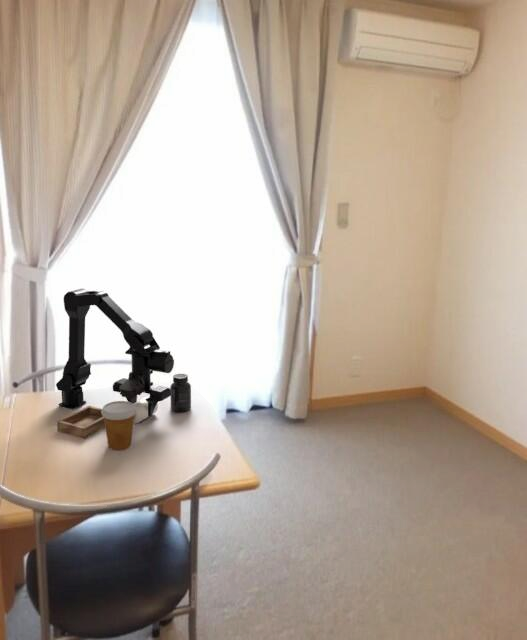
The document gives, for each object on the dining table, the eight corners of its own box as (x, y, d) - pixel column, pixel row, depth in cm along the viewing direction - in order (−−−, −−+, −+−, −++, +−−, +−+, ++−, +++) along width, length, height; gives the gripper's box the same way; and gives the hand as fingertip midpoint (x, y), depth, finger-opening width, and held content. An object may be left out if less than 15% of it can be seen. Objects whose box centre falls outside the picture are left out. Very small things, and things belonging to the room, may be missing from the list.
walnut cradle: (57, 431, 168) (56, 421, 168) (89, 414, 181) (89, 405, 180) (84, 438, 164) (84, 428, 164) (115, 421, 177) (115, 411, 176)
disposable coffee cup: (142, 441, 164) (142, 403, 161) (124, 455, 155) (123, 415, 152) (115, 435, 167) (113, 398, 164) (95, 449, 158) (94, 410, 155)
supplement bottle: (193, 406, 191) (193, 373, 188) (188, 414, 184) (188, 380, 181) (173, 404, 191) (173, 371, 188) (168, 412, 185) (167, 378, 182)
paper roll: (140, 425, 174) (140, 407, 173) (125, 421, 177) (124, 404, 175) (158, 414, 183) (158, 397, 181) (143, 411, 185) (143, 394, 184)
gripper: (100, 370, 172) (102, 417, 176) (150, 381, 165) (151, 429, 169) (123, 360, 182) (124, 405, 186) (171, 370, 175) (171, 416, 179)
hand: (141, 414), depth 179 cm, fingers closed on paper roll, 6 cm apart
